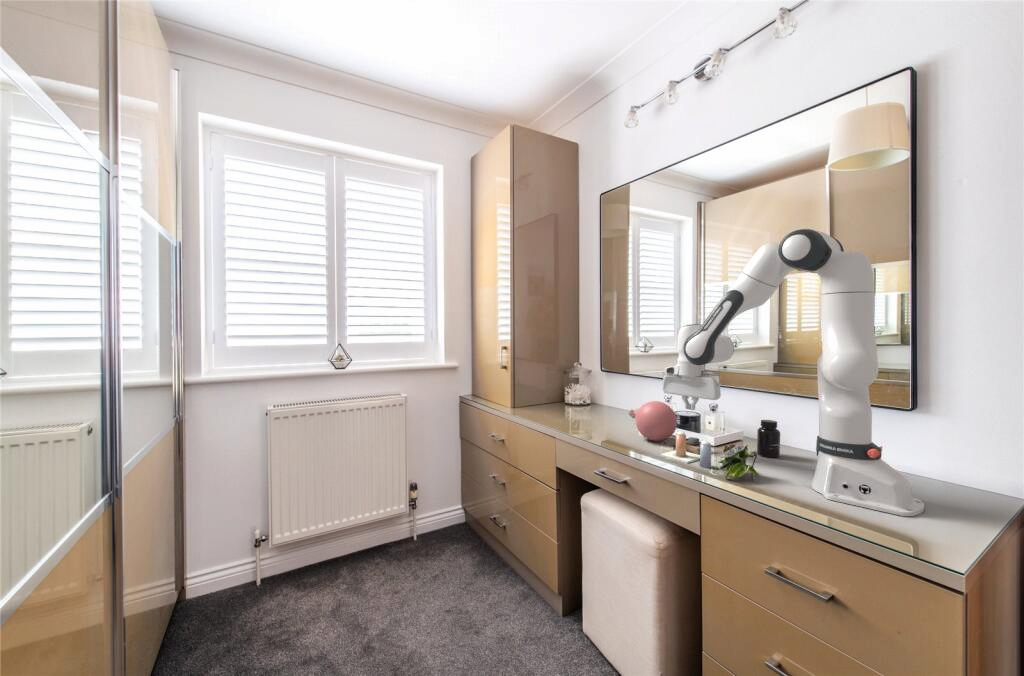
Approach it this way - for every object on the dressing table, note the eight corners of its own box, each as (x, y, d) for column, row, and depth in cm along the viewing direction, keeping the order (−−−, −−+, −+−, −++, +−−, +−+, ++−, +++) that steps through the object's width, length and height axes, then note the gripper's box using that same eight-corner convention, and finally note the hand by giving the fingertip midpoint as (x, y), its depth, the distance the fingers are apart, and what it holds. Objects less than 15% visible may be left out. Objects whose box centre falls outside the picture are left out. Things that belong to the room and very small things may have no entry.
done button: (701, 447, 151) (701, 438, 151) (695, 448, 149) (695, 440, 148) (691, 445, 154) (691, 436, 153) (686, 446, 151) (686, 438, 151)
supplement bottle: (776, 459, 141) (776, 424, 140) (753, 455, 146) (754, 420, 146) (782, 455, 145) (783, 421, 145) (761, 451, 150) (761, 418, 150)
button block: (710, 451, 150) (710, 444, 150) (697, 455, 145) (697, 448, 145) (689, 446, 157) (689, 440, 157) (677, 450, 152) (677, 443, 152)
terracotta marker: (687, 455, 143) (688, 432, 142) (682, 457, 141) (682, 434, 141) (679, 453, 145) (679, 431, 145) (673, 455, 143) (674, 432, 143)
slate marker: (713, 466, 133) (713, 442, 133) (707, 468, 132) (707, 443, 131) (703, 464, 136) (703, 440, 136) (697, 466, 134) (698, 441, 134)
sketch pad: (704, 458, 142) (704, 456, 142) (687, 463, 137) (687, 461, 137) (677, 451, 151) (677, 449, 151) (660, 455, 145) (660, 453, 145)
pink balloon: (640, 431, 180) (640, 395, 179) (684, 441, 164) (684, 401, 164) (617, 437, 170) (618, 399, 170) (662, 448, 155) (662, 406, 154)
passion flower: (728, 490, 128) (734, 453, 134) (766, 494, 119) (771, 455, 125) (708, 474, 124) (715, 437, 129) (745, 478, 115) (751, 437, 120)
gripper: (724, 372, 142) (723, 413, 142) (670, 367, 159) (669, 404, 159) (714, 373, 138) (714, 415, 139) (660, 368, 155) (659, 405, 155)
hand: (690, 409), depth 149 cm, fingers closed
